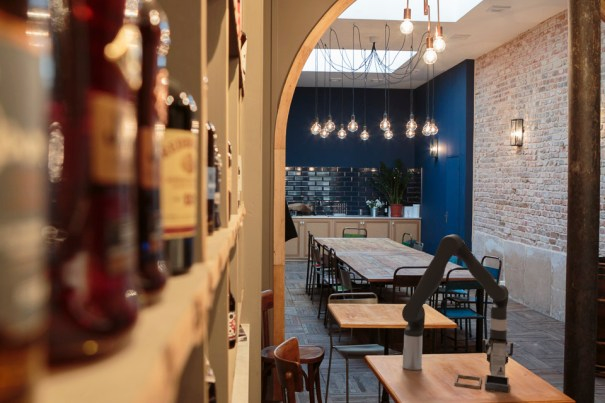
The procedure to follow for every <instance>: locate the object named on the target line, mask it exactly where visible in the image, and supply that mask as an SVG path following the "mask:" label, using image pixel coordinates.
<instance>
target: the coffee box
mask: <svg viewBox="0 0 605 403" xmlns="http://www.w3.org/2000/svg"><path fill="white" fill-rule="evenodd" d="M489 348H491V352H490V362H488V364H489V369H488V370H489V372H490V375H491V376H500V377H506V364H505V360H506V350H507V345H506V342H505V341H501V340H491V345H490V344H489Z"/></svg>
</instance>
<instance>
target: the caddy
mask: <svg viewBox="0 0 605 403" xmlns="http://www.w3.org/2000/svg"><path fill="white" fill-rule="evenodd" d="M509 380H510V379H509V377H506V376H505V377H500V376H491V374H486V375H485V382H484V390H485V391H492V392H496V393H497V392H498V393H507V394H509V385H510V384H509Z"/></svg>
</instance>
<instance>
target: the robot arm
mask: <svg viewBox="0 0 605 403" xmlns="http://www.w3.org/2000/svg"><path fill="white" fill-rule="evenodd" d="M454 255H456V256H457V257H458V258H459V259H460V260H461V261H462V262H463V263H464V265H465V267H466V268H467V270H468V271H469V273H470V275H471V276H472V277H473V278H474V279H475V281H477V282H478V283H479V285H481V287H482V288H483V289H484V291H485V293H486V294H487V295H488V296H489V298H491V299H492V305H491V308H490V319H489V320H490V321H489V338H488V339H486V338H483V339H482V353H484V354H486V361H487V362H488V363H489V362H490V352H491V348H490V347H489V348H488V349H486V348H487V347H486V345H488V344H489V346H490V345H491V340H501V341H505V342H506V346H507V345H508V347H509V352H508V351H507V349H506V360H505V365H507V364H508V363H509V357H511V356H513V354H514V353H513V351H514V342H513V341H511V342H510V341H508V340H507V337H508V336H507V333H508V332H507V331H508V329H507V328H508V323H507V321H508V320H507V317H508V316H507V313H508V312H507V308H508V302H509V289H508V288H507V286H505V285H504V284H498V283H497V282H496V280H495V279H494V278H495V277H494V275H493V274H492V273H491V272H489V270H488V269H487V268H486V267H485V266H484V265H483V264H482V263H481V262H480V261H479V260H478V258H477V257H476V256H475V255H474V254H473V253H472V251H471V250H470V248H469V247H468V246H467V244H466V243H465V241H463V239H462V238H461V237H460V235H458V234H449V235H448V234H447V235H446V236H444V237H442V238H441V240H440V242H439V244H438V247H437V249H436V252H435V254H434V256H433V257H432V259H431V261H430V262H429V264H428V266H427V268H426V270H425V271H424V273H423V274H422V276H421V277H420V280H419V281H418V284H417V286H416V288H415V289H414V292H413V293H412V295H411V296H410V297H409V299H408V301H407V302H406V304H405V305H403V306H404V307H403V309H402V311H401V316H402V319H403V320H404V322H406V323H407V325H406V327H405V328H404V331H403V332H404V334H403V349H402V369H405V370H408V371H420V370H422V368H423V367H422V366H423V363H422V362H423V333H424V330H425V322H426V320H425V318H426V312H425V308H424V304H425V303H426V302H427V301H428V299H429V298H430V297H431V296H432V295H433V294H434V293H435V292H436V291H437V289H438V288H439V286H440V285H441V283H442V281H443V278H444V275H445V271H446V267H447V265H448V263H449V261H450V260H451V258H453V256H454Z"/></svg>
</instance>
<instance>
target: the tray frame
mask: <svg viewBox="0 0 605 403" xmlns="http://www.w3.org/2000/svg"><path fill="white" fill-rule="evenodd" d="M459 378H462V379H470V380H477V381H478V385H476V384H468V383H463V382H458V381H459ZM482 379H483V378H482V376H475V375H468V374H467V375H466V374H459V373H457V374H456V377H455V380H454V386H456V387H463V386H464V388H470V387H471V389H479V390H480V389H481V386H482Z"/></svg>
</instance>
